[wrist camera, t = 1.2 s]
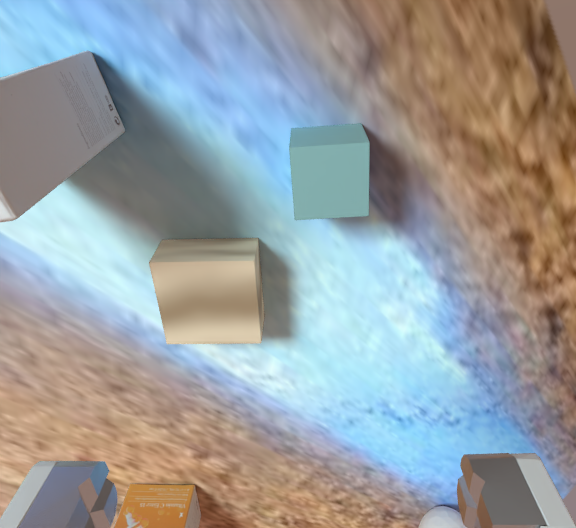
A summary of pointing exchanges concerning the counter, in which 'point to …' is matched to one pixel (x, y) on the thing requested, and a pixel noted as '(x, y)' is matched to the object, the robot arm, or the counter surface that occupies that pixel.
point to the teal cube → (330, 171)
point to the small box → (159, 507)
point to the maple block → (209, 290)
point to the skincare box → (51, 128)
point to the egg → (442, 518)
